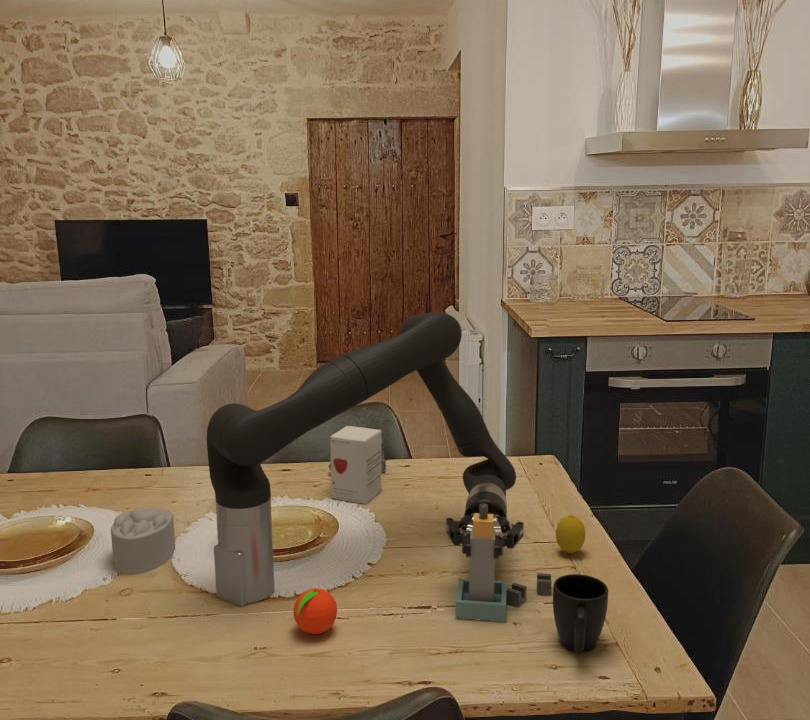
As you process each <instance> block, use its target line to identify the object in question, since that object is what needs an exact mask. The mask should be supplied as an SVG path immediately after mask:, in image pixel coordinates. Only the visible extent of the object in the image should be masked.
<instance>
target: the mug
mask: <svg viewBox="0 0 810 720" xmlns="http://www.w3.org/2000/svg"><path fill="white" fill-rule="evenodd" d="M552 586H553V587H552V588H553V589H552V612H553V617H554V623H555V626H556V631H557V634H558V639H559V642H560V645H561V646H562V647H563V648H564V649H566V650H568V651H571V652H575V653H577V654H582V653H589V652H591V651H593V650H595V648H597V647H596V646H597V643H598V641H599V639H600V636H601V634H602V631H603V628H604V626H605V625H604V624H605V620H606V617H607V611H608V601H609V589H608V588H609V587H608V586H607V585H606V583H605V582H603V581H602V580H600V579H599V578H596V577H594V576H590V575H587V574H582V573H581V574H578V573H571V574H565V575H561V576H559V577H558V578H556V579H555V580H554V582H553V585H552Z"/></svg>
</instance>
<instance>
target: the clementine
mask: <svg viewBox="0 0 810 720" xmlns="http://www.w3.org/2000/svg"><path fill="white" fill-rule="evenodd" d="M337 616H338V607H337V602H336V600H335V598H334V597H333V595H332V594H331V593H330V592H329V591H327V590H324V589H323V588H318V587H314V588H309V589H306V590H305V591H304V592H302V593H301V594H300V595H299V596H298V597H297V598H296V600H295V602H294V604H293V619H294V621H295V623H296V625H297V627H299V628H300V629H301V630H302V631H303V632H305V633H307V634H311V635H319V634H322V633H324V632H326V631H328V630H330V628H331V627H332V626H333V625H334V623H335V622H336V619H337Z"/></svg>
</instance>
